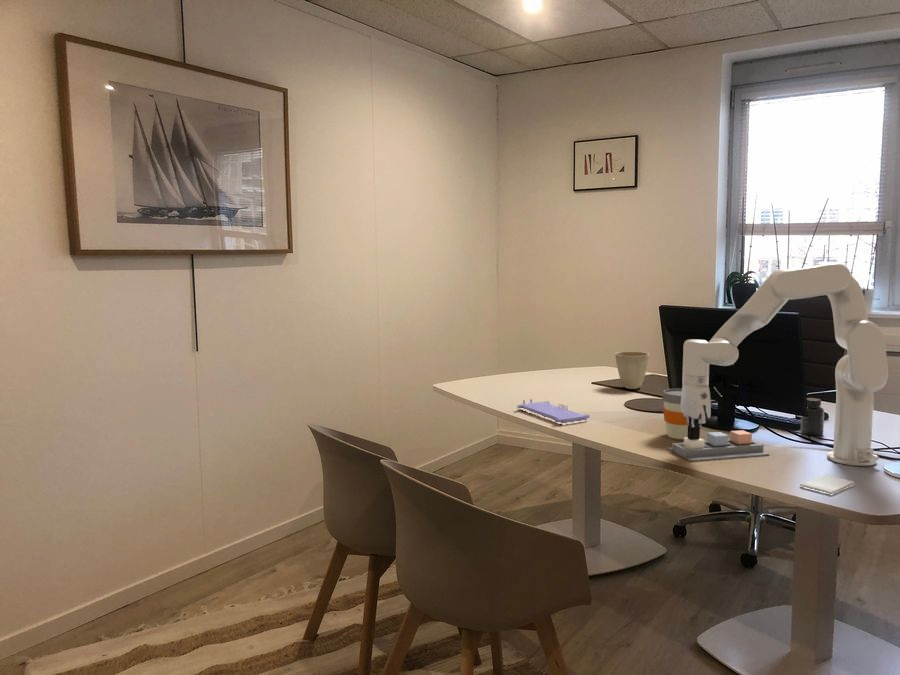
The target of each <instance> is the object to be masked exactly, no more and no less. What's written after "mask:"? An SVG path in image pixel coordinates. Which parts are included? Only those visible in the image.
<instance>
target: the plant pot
mask: <svg viewBox="0 0 900 675" xmlns="http://www.w3.org/2000/svg"><path fill="white" fill-rule="evenodd" d="M614 356H615V361H616V362H615V363H616V366H617V367H616V368H617V371H618V375H619V378H620V379H619V380H620V381H621V382H620V383H621V384H622V387H623V386H628V387H639V386H641V387H642V385H643V382H644V379H645V376H646V372H647V369H648V365H649V359H650V353H648V352H643V351H618V352H615V353H614Z"/></svg>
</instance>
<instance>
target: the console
mask: <svg viewBox="0 0 900 675" xmlns="http://www.w3.org/2000/svg"><path fill="white" fill-rule="evenodd" d="M764 447H765V446H764V444H762V443H760V442H757V441H754V440H753V439H752V442H751V443H747V444H737V443H735V442H733V441H730V438H728V445H721V446H714V445H712V444H710V443H708V442H707V440H705V443H704V448H698V449H687V448H685V447H684V442H672V443H671V446H668V447H666V448H668V450H669V451H671V452H672V451H673V453H674V452H675V454H676V453H677V454H676V455H678V456H680V457H682V458H683V457H684V459H685V458H686V459H685V460H687V459H688V460H687V461H689V460H690V461H689V462H691V461H693V462H700V461H699V460H706V461H715V460H716V461H717V460H727V459H729V460H731V459H742V458H743V459H744V458H753V457H765V456H766V457H767V456H770V453H768V452H766V451H764Z"/></svg>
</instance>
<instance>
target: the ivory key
mask: <svg viewBox="0 0 900 675" xmlns="http://www.w3.org/2000/svg"><path fill="white" fill-rule="evenodd" d="M705 441H706V440H705V439H704V438H703V439H702V438H701V437H700V439H695V440H690V439H688V438H687V437H684V439H683V443H684V447H685V448H687V449H698V448H704V443H705Z"/></svg>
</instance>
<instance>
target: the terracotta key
mask: <svg viewBox="0 0 900 675" xmlns="http://www.w3.org/2000/svg"><path fill="white" fill-rule="evenodd" d="M752 436H753V435H752V433H751V432H748V431H745V429H742V430H741V429H740V430H739V429H738V430H730V437H729V439H730V441H733V442H735V443H737V444H747V443H751V442H752V440H753V439H752V438H753V437H752Z"/></svg>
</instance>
